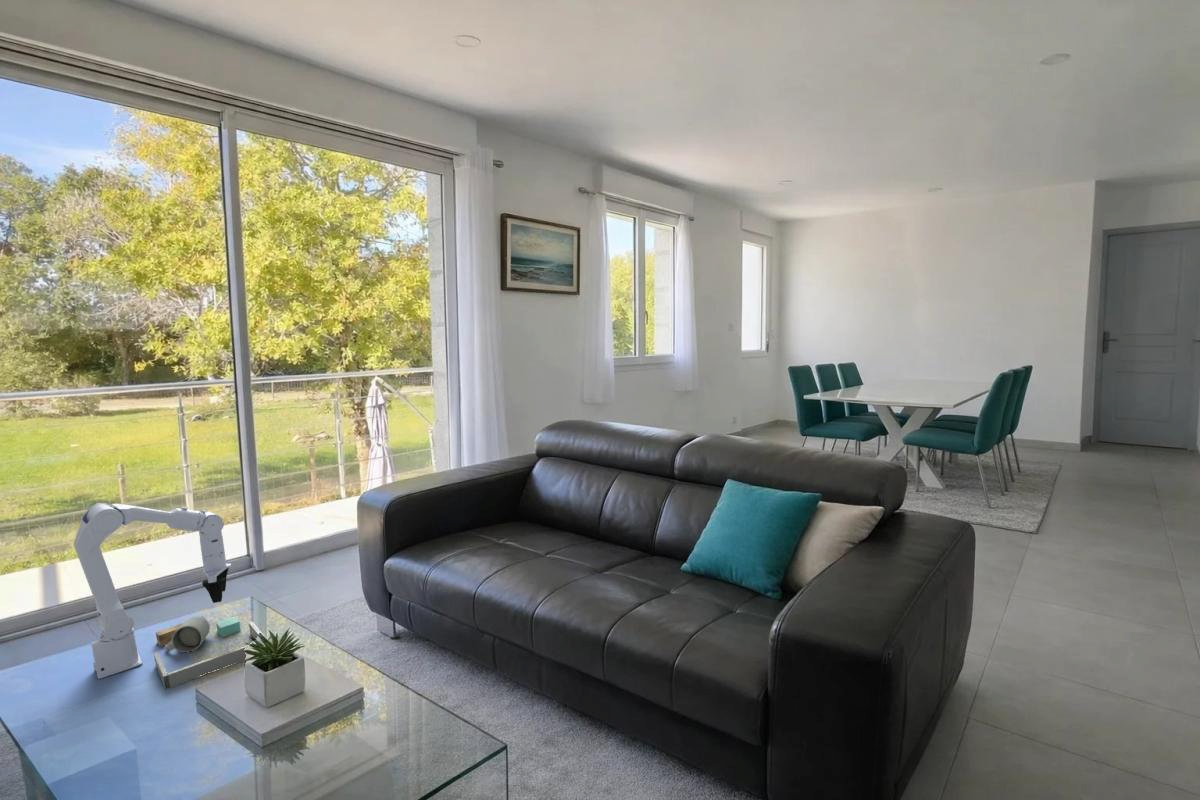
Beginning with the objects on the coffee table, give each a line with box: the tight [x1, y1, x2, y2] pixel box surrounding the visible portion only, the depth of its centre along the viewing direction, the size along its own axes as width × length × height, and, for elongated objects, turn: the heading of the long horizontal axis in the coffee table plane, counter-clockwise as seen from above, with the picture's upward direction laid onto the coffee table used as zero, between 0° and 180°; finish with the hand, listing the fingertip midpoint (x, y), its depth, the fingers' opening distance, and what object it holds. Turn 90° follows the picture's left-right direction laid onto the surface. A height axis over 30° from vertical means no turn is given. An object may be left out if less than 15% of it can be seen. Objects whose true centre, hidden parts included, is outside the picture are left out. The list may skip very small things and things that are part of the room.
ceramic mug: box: [164, 616, 211, 653], centre depth 181 cm, size 11×8×8 cm
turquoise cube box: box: [216, 616, 242, 638], centre depth 189 cm, size 5×5×3 cm
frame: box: [153, 621, 263, 690], centre depth 174 cm, size 24×15×4 cm, turn 132°
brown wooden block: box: [155, 615, 205, 647], centre depth 188 cm, size 12×3×4 cm, turn 138°
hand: (219, 596), depth 190 cm, fingers open, 7 cm apart
